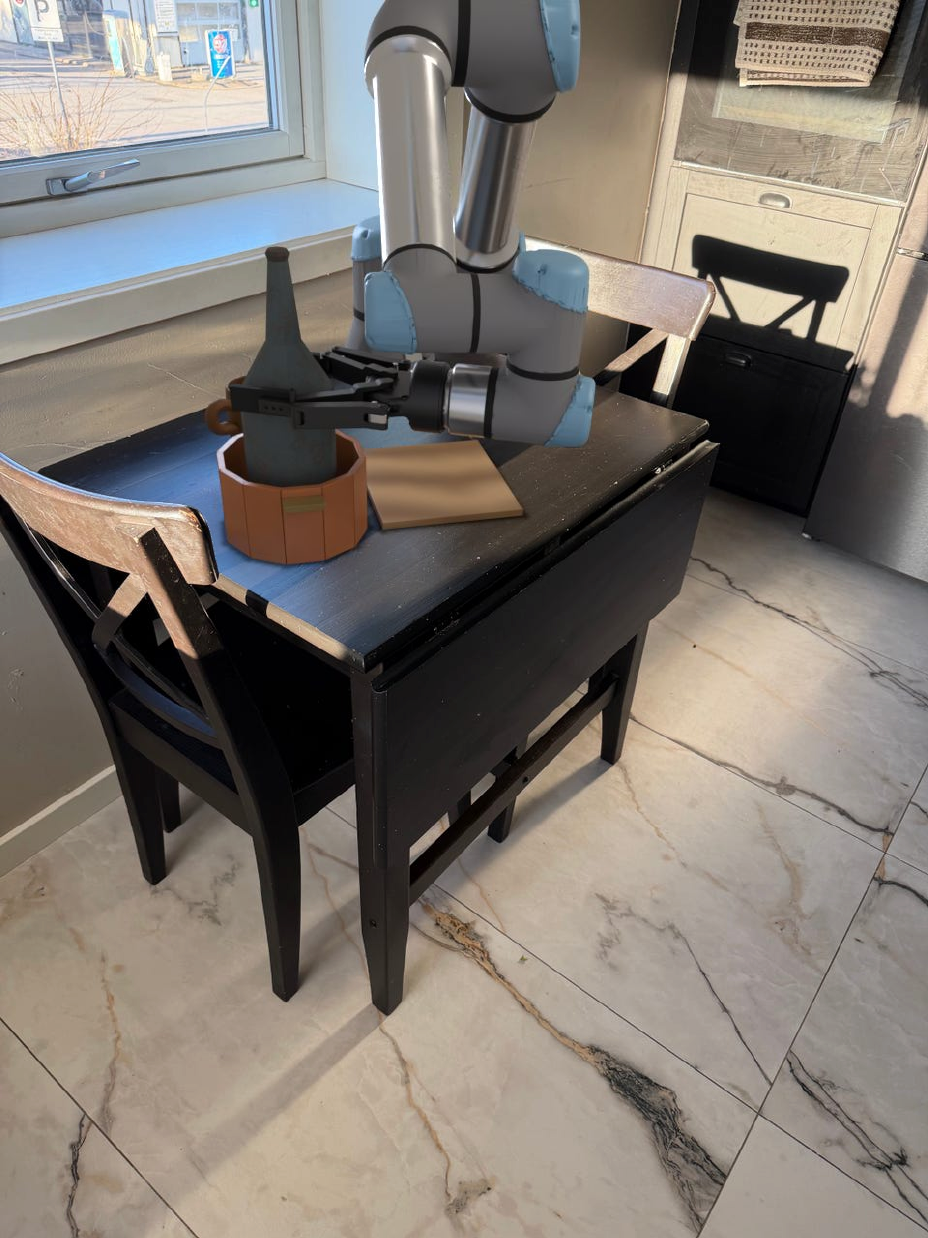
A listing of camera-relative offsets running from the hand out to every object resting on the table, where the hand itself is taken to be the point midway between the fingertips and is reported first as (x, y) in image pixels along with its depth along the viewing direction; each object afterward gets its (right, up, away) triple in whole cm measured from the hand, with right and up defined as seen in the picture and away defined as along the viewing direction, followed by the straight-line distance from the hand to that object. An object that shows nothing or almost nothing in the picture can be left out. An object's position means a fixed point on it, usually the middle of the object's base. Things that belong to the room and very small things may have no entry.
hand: (248, 377), depth 99 cm
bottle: (+3, -13, +9) cm, 17 cm away
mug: (-6, -4, +25) cm, 26 cm away
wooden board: (+20, -9, +21) cm, 30 cm away
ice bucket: (+3, -15, +11) cm, 19 cm away
